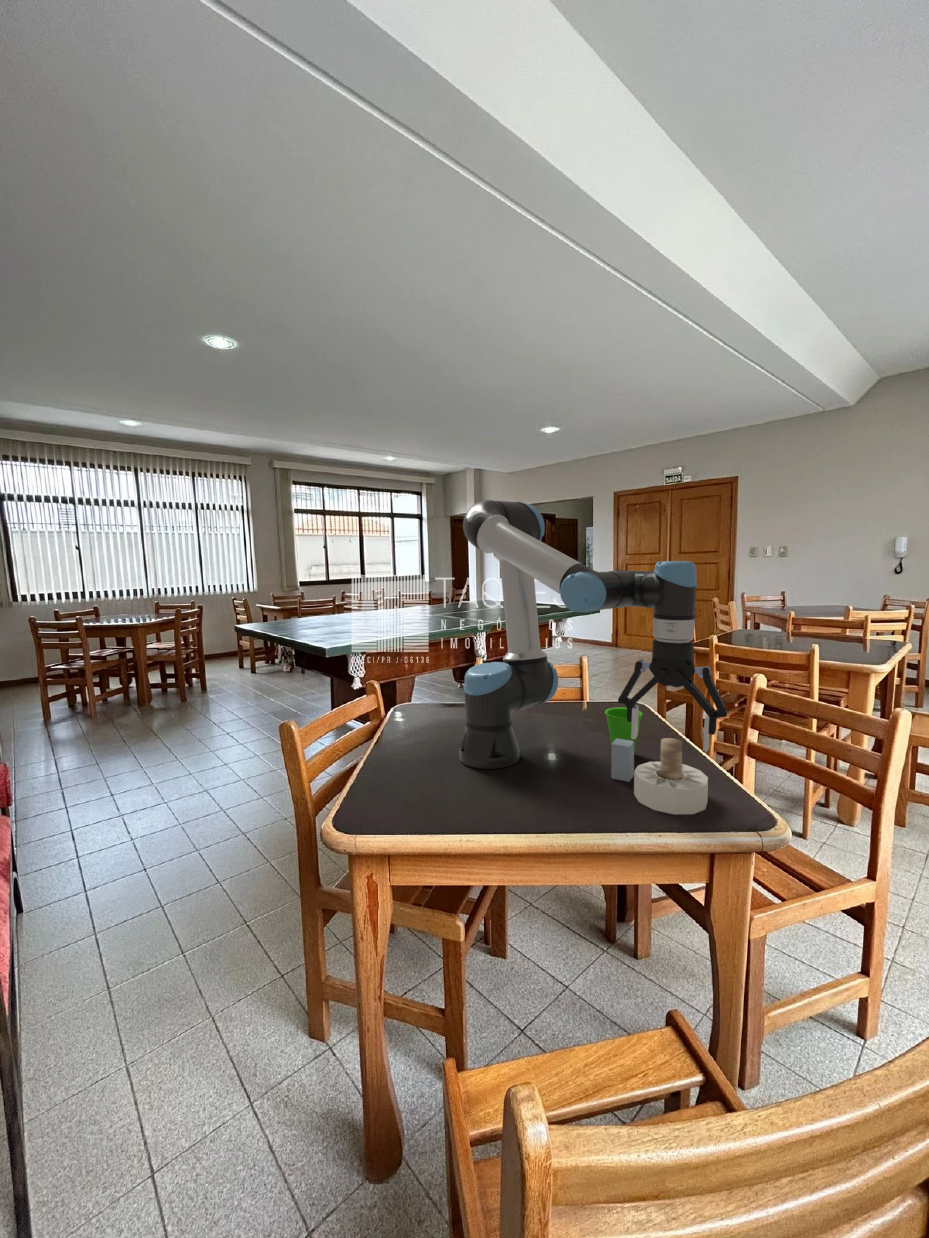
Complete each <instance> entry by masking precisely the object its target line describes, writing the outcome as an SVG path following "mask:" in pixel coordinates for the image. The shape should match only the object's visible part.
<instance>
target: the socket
mask: <svg viewBox="0 0 929 1238" xmlns="http://www.w3.org/2000/svg"><path fill="white" fill-rule="evenodd" d="M660 762H661V761H648V762H645V763H642V764H639V765H637V767H636V768H635V769H634V776H633V796H634V797H635V798H636V800H637V802H639V803H640V804H642V805H643V806H645V807H648V808H650V809H651V810H653V811H656V812H661V813H664V814H665V813H666V814H670V815H695V814H697V813H700V812H704V811H705V810H706V808H707V805H708V799H709V798H708V797H709V796H708V795H709V792H708V790H709V789H708V787H709V777H708V776H707V775H706V774H705V773H704V772H702V770H700V769H698V768H695V767H692V766H690V765H687V764H683V763H682V778H681V780H667V779H663V778H661V777H660Z"/></svg>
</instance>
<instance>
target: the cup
mask: <svg viewBox="0 0 929 1238" xmlns="http://www.w3.org/2000/svg"><path fill="white" fill-rule="evenodd" d="M604 714H605V715H606V721H607V728H608V732H609V738H610V744H611V748H612V743H613V742H614V740H615V739H616V738H617V739H623V740H630V741H634V755H636V753H635V752H636V746H637V741H638V737H639V735H638V736H637V737H636V739H631V727H632V722H628V721H627V707H621V706H619V707H617V706H616V707H610V708H608V709H605V711H604ZM643 715H644V713H643V712H642V711H640V710H639V712H638V733H639V732H640V726H641V720H642V717H643Z"/></svg>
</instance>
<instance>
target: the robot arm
mask: <svg viewBox="0 0 929 1238" xmlns="http://www.w3.org/2000/svg"><path fill="white" fill-rule="evenodd" d="M545 526H546V525H545V521H544V517H543V515H542V513H541V512H540V510H539V509H538V508H536V507H535V506H534V505H532V504H531V503H530V504H529V503H525V502H521V501H502V500H494V499H487V500H486V499H485V500H481V501H478V502H475V503H474V504H473V505H471V506H470V508H468V510H467V511H466V513H465V515H464V517H463V521H462V529H463V533H464V536H465V538H466V540H467V541H468V542H469V543H470V544H471V545H472V546H473V547H475V548H476V549H478V550H480V551H481V552H483V553H484V554H492V553H493V557H494V558H495V559H497V561H499V565H500V576H501V587H502V599H503V600H502V601H503V609H504V620H505V631H506V644H507V652H506V653H505V655H504V656H503V658H502V661H501V662H500V661H491V662H483V663H479V664H477V665H474V666H472V667H470V668H469V669H468V670H466V672H465V675H464V683H463V684H464V685H463V691H464V714H465V715H464V716H465V717H464V718H465V728H464V733H463V736H462V740H461V743H460V746H459V750H458V753H459V756H458V757H459V761H460V762H461V763H462V764H464V765H465V766H467V767H471V768H475V769H484V770H495V769H497V770H498V769H503V768H507V767H511V766H513V765H515V764H516V763H518V762H519V760H520V747H519V744H518V741H517V739H516V735H515V732H514V729H513V716H512V715H513V712H517V711H522V710H526V709H529V708H532V707H538V706H541V705H543V704H545V703H547V702H549V701H550V700H552V698H553V697H554V696H555V695H556V693H557V690H558V687H559V675H558V671H557V669H556V668H554V665H553V663H551V662H550V661H549V660H548V654H547V653H546V652H545V651H544V650H542V648H541V642H540V641H541V639H540V630H539V619H538V617H539V616H538V606H537V597H536V596H537V595H536V593H537V592H536V584H535V580H537V581H538V582H540V583H541V584H542V585H544V586H546V587H548V588H550V589H551V590H553V591H554V592H556V593H557V594H558V595H559V594H560V600H561V601H562V602H563V604H564V606H565V607H566V609H568V610H569V611H572V612H576V613H591V612H596V611H602V610H608V609H609V610H611V609H612V610H613V609H620V608H627V607H629V608H630V607H632V608H633V607H635V608H646V609H647V608H648V609H653V624H652V625H653V626H652V628H653V629H652V636H653V637H654V640H653V641H652V650H651V651H652V654H651V657H652V658H651V662H648V661H644V660H643V659H641V658H640V659H638V660H637V661H636V662H635V665H634V669H633V670H634V671H633V673H632V675H631V676H630V678H629V679H628V681H627V683H626V685H625V687H624V689H623V690H622V691H621V694H620V695H619V697H618V698H617V702H618V703H619V704H623V705H625V706H626V708H627V721H628V722H632V727H631V739H636V737H637V736H638V737H639V732H638V712H639V711H640V710H639V709H640V708H639V707H640V706H639V705H635V704H637V703H638V701H640V700H641V699H642V698H643V697H644V696H645V695H646V694H647V693H648V692H650V690H651V689H653V687H655V686H656V685H657V684H658V683H659V684H660V685H662V687H663V686H664V687H669V686H671V687H674V688H682V687H683V688H684V689H685V690H686V691H687V692H688V693H689V694H690V695H691V696H692V698H693V699H694V700H695V701H696V703H697V704H698V705H699V706H700V707H701V709H702V710H703V711H704V712H705V714H706V715H705V716H704V727H703V730H704V731H703V746H702V747H703V748H702V751H703V752H706V753H707V752H708V751H709V750H710V749H709V748H710V735H713V736H714V735H715V734H716V731H717V721H718V720H717V719H718V718H726V717H727V715H728V709H727V708H728V707H727V706H726V704H725V703H724V700H723V698H722V695H721V693H720V692H719V689H718V688H717V685H716V684H715V682H714V679H713V678H712V668H711V667H710V666H709V665H705V666H695V665H694V647H695V646H694V645H695V643H694V642H693V639H694V638H695V629H696V628H695V627H696V625H695V623H696V615H695V612H696V611H695V610H696V599H697V597H696V595H697V587H698V583H697V582H698V581H697V566H696V564H695V563H694V562H693V561H689V560H688V561H685V560H681V561H680V560H677V561H676V560H675V561H674V560H671V561H670V560H666V561H665V560H663V561H662V560H661V561H657V562H656V563H655V566H654V569H653V570H649V571H648V570H645V571H644V570H625V569H616V570H609V571H597V570H594V569H592V568H591V567H589V566H587V565H584V564H583V563H582V562H580V561H578V560H576V559H574V558H572V557H570V556H568V555H567V554H565V553H563V552H561V551H560V550H557V548H556V549H555V548H553V547H552V546H550V545H548V544H546V543H545V542H543V541H542V539H543V537H544V535H545V532H546V531H545V530H546V529H545ZM647 669H649V671H650V672H651V673H652V675H653V677H652V678H651V679H650V680H649V681H648V682H646V683H645V685H643V686H642V687H641V689H640V690H638V692H637V693H636V694H634V695H633V696H632V697H631V698H630V697H629V696H630V693H631V692H632V690H633V688H634V687H635V685H636V684H637V681H639V678H640V677H641V676H642V673H645V672H646V671H647ZM694 674H697V675H698V677H699V678H700V679H703V683H704V686H705V687H706V689H707V692H708V693H709V696H710V698H711V700H712V702H713V704H714V706H715V707H716V709H715V707H713V705H712V704H711V703H710V701H709V700H708V699H707V698H706V697H705V695H704V694H703V693H702V691H701V690H700V689H699V688H698V686H696V683H695V682H694V681H693V680H692V679H691V678H692V677H693V676H694ZM638 737H637V738H638Z"/></svg>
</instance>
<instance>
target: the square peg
mask: <svg viewBox="0 0 929 1238" xmlns="http://www.w3.org/2000/svg"><path fill="white" fill-rule="evenodd" d="M610 759H611V760H610V761H611V763H610V764H611V765H610V767H611V769H610V770H611V771H610V772H611V773H610V774H611V775H610V777H611V779H612V780H617V781H623V782H627V783H628V782H629V783H630V782H631V780H632V779H633V778H634V771H635V769H634V768H635V754H634V741H630V740H623V739H617V738H616V739H615V740H614V742H613V743H612V747H611V757H610Z"/></svg>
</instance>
